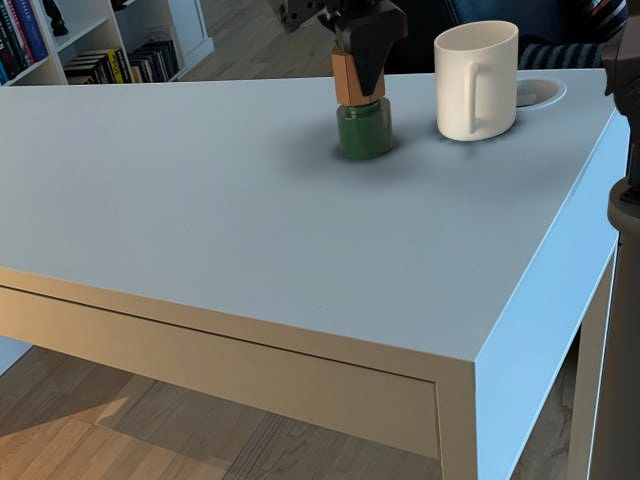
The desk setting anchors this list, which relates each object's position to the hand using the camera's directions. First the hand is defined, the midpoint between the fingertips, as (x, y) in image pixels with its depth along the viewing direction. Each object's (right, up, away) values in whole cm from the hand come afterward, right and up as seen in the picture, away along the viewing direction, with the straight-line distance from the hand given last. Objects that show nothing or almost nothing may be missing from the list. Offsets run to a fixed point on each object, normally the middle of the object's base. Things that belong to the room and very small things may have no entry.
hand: (361, 86), depth 86 cm
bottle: (+2, -6, +4) cm, 7 cm away
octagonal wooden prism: (0, -1, +1) cm, 1 cm away
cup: (+13, -5, +1) cm, 14 cm away
